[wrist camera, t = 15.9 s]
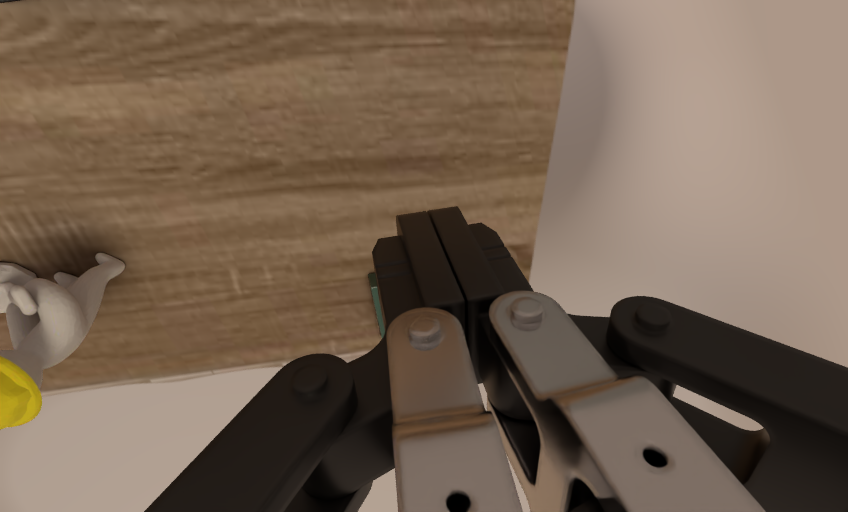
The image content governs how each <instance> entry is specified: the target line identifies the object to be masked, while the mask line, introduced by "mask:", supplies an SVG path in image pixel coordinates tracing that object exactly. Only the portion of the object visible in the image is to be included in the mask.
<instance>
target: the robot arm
mask: <svg viewBox="0 0 848 512" xmlns="http://www.w3.org/2000/svg"><path fill="white" fill-rule="evenodd" d="M396 224H397V234H398V236H393V237H387V238H380V239H378V241H377V243H376V245H375V247H374V249H373V251H372V255H373V262H374V269H375V275H376V282H377V289H378V296H379V302H380V308H381V313H382V318H383V323H384V328H385V334H384V336H383V338H382V340H381V341H380V343H379V344H378V345H377V346H376V347H375V348H374V349H373V350H371V351H370V352H368V353H367V354H365V355H363V356H362V357H360V358H357V359H355V360H353V361H351V362H349V363H346V362H345V361H344V360H343V359H341V358H339V357H337V356H334V355H331V354H311V355H306V356H303V357H300V358H298V359H295V360H293V361H292V362H290V363H288V364H287V365H285V366H284V367H283V368H282V369H281V370H280V371H278V373H276V375H275V376H274V377H273V378H272V379H271V380H270V381H269V382H268V383H267V384H266V385H265V386H264V387H263V388H262V389H261V390H260V391H259V392H258V393H257V395H256V396H255V397H253V399H252V400H251V401H250V402H249V403H248V404H247V405H246V406H245V407H244V408H243V409H242V410H241V411H240V412H239V413H238V414H237V415H236V416H235V417H234V418H233V419H232V420H231V422H230V423H229V424H228V425H227V426H226V427H225V428H224V429H223V430H222V431H221V432H220V433H219V434H218V435H217V436H216V437H215V438H214V439H213V440H212V441H211V442H210V443H209V444H208V446H206V448H205V449H204V450H203V451H202V452H201V453H200V454H199V455H198V456H197V457H196V458H195V459H194V460H193V461H192V462H191V463H190V464H189V465H188V466H187V468H185V469H184V470H183V472H182V473H181V474H180V475H179V476H178V477H177V478H176V479H175V480H174V481H173V482H172V483H171V484H170V485H169V486H168V487H167V488H166V489H165V491H163V492H162V493H161V495H160V496H159V497H158V498H157V499H156V500H155V501H154V502H153V503H152V504H151V505H150V506H149V507H148V508H147V509H146V510H145V511H144V512H358V510H359V508H360V507H361V505H362V503H363V502H364V500H365V498H366V497H367V495H368V493H369V491H370V489H371V486H372V483H373V480H375V479H377V478H378V477H380V476H382V475H384V474H385V473H387V472H389V471H390V470H392V469H394V468H395V473H396V474H395V475H396V488H397V501H398V512H523V511H522V507H521V504H520V500H519V497H518V494H517V490H516V487H515V483H514V480H513V476H512V473H511V470H510V467H509V463H508V460H507V456H508V458H509V461H510V463H511V465H512V467H513V469H514V471H515V473H516V475H517V478H518V480H519V482H520V484H521V486H522V488H523V490H524V493H525V495H526V497H527V500H528V503H529V507H530V511H531V512H848V368H847V367H844V366H842V365H839V364H836V363H834V362H831V361H828V360H825V359H823V358H820V357H817V356H814V355H812V354H809V353H806V352H803V351H801V350H798V349H795V348H793V347H790V346H787V345H784V344H781V343H779V342H776V341H773V340H771V339H768V338H765V337H763V336H760V335H757V334H754V333H752V332H749V331H746V330H744V329H741V328H738V327H735V326H733V325H729V324H727V323H724V322H722V321H719V320H716V319H713V318H711V317H708V316H705V315H703V314H700V313H697V312H695V311H692V310H689V309H686V308H684V307H681V306H678V305H675V304H673V303H670V302H667V301H664V300H661V299H658V298H653V297H646V296H635V297H629V298H625V299H622V300H621V301H619V302H617V303H616V304H615V305H614V306H613V308H612V310H611V315H610V317H593V316H592V317H591V316H577V315H571V314H567V313H566V312H565V311H564V310H563V309H562V308H561V306H560V305H559V304H558V303H557V302H556V301H555V300H553V299H552V298H550V297H548V296H546V295H544V294H541V293H537V292H534V291H533V289H532V288H531V286H530V284H529V283H528V281H527V280H526V278H525V277H524V275H523V273H522V272H521V270H520V269H519V267H518V266H517V264H516V262H515V261H514V259H513V258H512V257H511V255H510V253H509V251H508V250H507V248H506V247H504V244H503V242H502V240H501V239H500V237H499V236H498V234H497V232H495V231H494V230H492V229H490V228H489V227H487V226H486V225H484V224H482V223H476V224H470V225H468V224H467V222H466V220H465V219H464V217H463V215H462V213H461V211H460V210H459V208H458V207H457V206H456V207H449V208H442V209H436V210H429V211H427V212H426V211H423V212H416V213H410V214H403V215H397V216H396ZM480 383H483V384H484V387H485V389H486V392H487V411H486V410H485V408H484V405H483V401H482V398H481V394H480V390H479V387H478V384H480ZM676 385H679V386H681V387H683V388H685V389H688V390H690V391H692V392H694V393H696V394H699V395H701V396H703V397H705V398H707V399H710V400H712V401H714V402H716V403H718V404H720V405H723V406H725V407H727V408H729V409H731V410H734V411H736V412H738V413H740V414H743V415H745V416H747V417H749V418H751V419H753V420H755V421H756V422H758V423H759V424H760V425H762V426H763V427H764V428H763V429H761V430H758V431H749V430H744V429H741V428H739V427H736V426H734V425H732V424H730V423H728V422H726V421H724V420H722V419H720V418H717V417H715V416H713V415H711V414H709V413H707V412H704V411H703V410H700V409H698V408H696V407H694V406H692V405H690V404H688V403H686V402H683V401H681V400H679V399H677V398H675V397H673V394H674V390H675V388H676ZM505 452H506V453H505ZM506 454H507V456H506Z"/></svg>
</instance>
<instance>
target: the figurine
mask: <svg viewBox="0 0 848 512" xmlns="http://www.w3.org/2000/svg"><path fill="white" fill-rule="evenodd" d="M95 259H96V260H97V262H98V263H99V264H100V265H99V266H96V267H93V268H91V269H89V270H87V271H86V272H85V273H84V274H82V275H81V276H80V277H79V278H78V277H75V276H73V275H70V274H67V273H63V272H57V273H56V274H55V275H54V279H55V280H56V282H57V283H58V284H59V285H58V284H56V283H54V282H52V281H49V280H47V279H42V278H37V277H36V274H35V273H33V272H31V271H29V270H27V269H25V268H23V267H21V266H19V265H17V264H15V263H2V262H0V313H5V312H6V318H7V323H8V327H9V332H10V336H11V341H12V344H13V347H14V350H0V430H1V429H3V428H6V427H14V426H19V425H22V424H25V423H27V422H29V421H31V420H33V419H34V418H35V417H36V416H37V415H38V413H39V412H40V410H41V406H42V397H41V393H40V391H39V390H40V387H41V384H42V380H43V369H46V368H49V367H52V366H54V365H56V364H58V363H60V362H61V361H63V360H64V359H65V358H67V357H68V356H69V355H70V354H71V353H73V352H74V351H75V350H76V349H77V347H78V346H79V345H80V344H81V343H82V341H83V340H84V338H85V336H86V335H87V333H88V331H89V329H90V327H91V325H92V324H93V321H94V319H95V317H96V315H97V312H98V310H99V307H100V304H101V300H102V297H103V293H104V290H105V287H106V284H107V282H108V281H109V280H110V279H112V278H114V277H115V276H117V275H119V274H120V273H121V272H122V271H123V270H124V269H125V264H124V263H123V262H122V261H120V260H118V259H116V258H114V257H112V256H110V255H107V254H105V253H98V254H96V256H95Z"/></svg>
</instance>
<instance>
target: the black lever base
mask: <svg viewBox="0 0 848 512" xmlns="http://www.w3.org/2000/svg"><path fill="white" fill-rule="evenodd" d="M12 1H20V0H0V3H5V2H12Z"/></svg>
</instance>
